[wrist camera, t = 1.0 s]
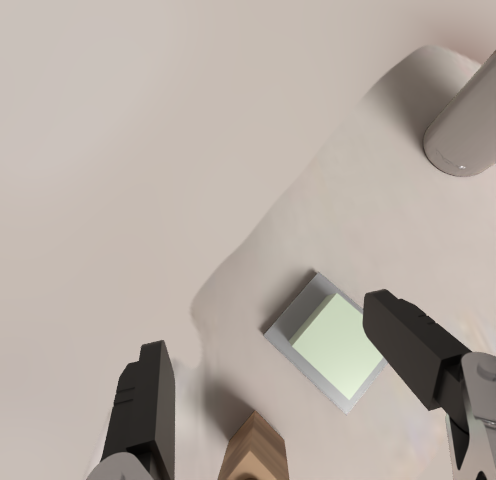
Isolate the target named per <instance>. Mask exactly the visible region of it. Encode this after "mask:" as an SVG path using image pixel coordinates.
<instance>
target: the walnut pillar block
mask: <svg viewBox="0 0 496 480" xmlns="http://www.w3.org/2000/svg"><path fill="white" fill-rule="evenodd" d="M218 480H289V473H288V465H287V457H286V449H285V441H284V440H283V439H282V437H281V436H280V435H279V434H278V433H277V432H276V431H275V430H274V429H273V428H272V427H271V426H270V425H269V424H268V423H267V422H266V421H265V420H264V419H263V418H262V417H261V416H260V415H259V414H258V413H257V412H256V411H254V412H253V413H252V415H251V416H250V417H249V418H248V419H247V421H246V422H245V423H244V424H243V425H242V426H241V428H240V429H239V430H238V431H237V432H236V434H235V435H234V436H233V437H232V438H231V440H230V441H229V443H228V446H227V450H226V453H225V456H224V460H223V463H222V466H221V470H220V473H219V476H218Z"/></svg>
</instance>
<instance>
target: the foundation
mask: <svg viewBox="0 0 496 480" xmlns="http://www.w3.org/2000/svg"><path fill="white" fill-rule="evenodd" d="M362 321H363V309H362V308H361V307H359V306H358V305H357V304H356V303H355V302H354V301H352V300H351V299H350V298H349V297H348V296H347V295H345V294H344V293H343V292H342V291H341V290H339V289H338V288H337V287H336V286H335V285H334V284H332V283H331V282H330V281H329V280H328V279H327V278H325V277H324V276H323V275H322V274H321V273H320V272H318V273H317V274H316V275H315V276H314V277H313V278H312V280H311V281H310V282H309V283H308V284H307V285H306V286H305V288H304V289H303V290H302V291H301V292H300V293H299V295H298V296H297V297H296V298H295V299H294V300H293V301H292V303H291V304H290V305H289V306H288V307H287V308H286V309H285V311H284V312H283V313H282V314H281V315H280V316H279V318H278V319H277V320H276V321H275V322H274V323H273V324H272V326H271V327H270V328H269V329H268V330H267V331H266V333H265V334H264V335H263V336H264V337H265V338H266V339H267V340H268V341H269V342H270V343H272V344H273V345H274V346H275V347H276V348H277V349H278V350H279V351H280V352H281V353H282V354H283V355H284V356H285V357H286V358H287V359H288V360H289V361H290V362H291V363H292V364H293V365H295V366H296V367H297V368H298V369H299V370H300V371H301V372H302V373H303V374H304V375H305V376H306V377H307V378H308V379H309V380H310V381H311V382H312V383H313V384H314V385H315V386H316V387H317V388H319V389H320V390H321V391H322V392H323V393H324V394H325V395H326V396H327V397H328V398H329V399H330V400H331V401H332V402H333V403H334V404H335V405H336V406H337V407H338V408H339V409H340V410H341V411H343V412H344V413H345V414H346V415H347V414H348V413H349V412H350V411H351V409H352V408H353V407H354V405H355V404H356V403H357V402H358V400H359V399H360V398H361V397H362V395H363V394H364V393H365V391H366V390H367V389H368V388H369V386H370V385H371V384H372V382H373V381H374V380H375V379H376V377H377V376H378V375H379V374H380V372H381V371H382V370H383V368H384V367H385V366H386V365H387V363H388V362H387V361H386V359H385V358H384V357H383V356H382V355H381V353H380V352H379V351H378V350H377V349H376V347H375V346H374V345H373V344H372V343H371V341H370V340H369V339H368V338H367V336H366V334H365V332H364V329H363V324H362Z"/></svg>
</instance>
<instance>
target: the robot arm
mask: <svg viewBox="0 0 496 480" xmlns="http://www.w3.org/2000/svg"><path fill="white" fill-rule="evenodd" d="M423 146H424V150H425V153H426V155H427V157H428V159H429V160H430V161H431V162H432V163H433V164H434V165H435V166H436V167H437V168H438V169H440V170H442V171H444V172H445V173H448V174H451V175H455V176H472V175H476V174H479V173H481V172H483V171H484V170H486V169H487V168H489V167H491V166H492V165H494V164H495V163H496V50H495V51H494V53H493V54H492V55H491V56H490V57H489V58H488V59H487V61H486V62H485V63H484V64H483V65H482V66H481V67H480V69H479V70H478V71H477V72H476V73H475V74H474V75H473V77H472V78H471V79H470V80H469V81H468V82H467V84H466V85H465V86H464V87H463V88H462V89H461V90H460V92H459V93H458V94H457V95H456V96H455V97H454V98H453V100H452V101H451V102H450V103H449V104H448V105H447V106H446V107H445V109H444V110H443V111H442V112H441V113H440V114H439V116H438V117H437V118H436V119H435V120H434V121H433V122H432V124H431V125H430V126H429V127H428V128H427V130H426V132H425V135H424V139H423ZM362 324H363V329H364V332H365V334H366V336H367V338H368V339H369V340H370V341H371V343H372V344H373V345H374V346H375V347H376V349H377V350H378V351H379V352H380V353H381V355H382V356H383V357H384V358H385V359H386V361H387V362H388V363H389V364H390V365H391V366H392V368H393V369H394V370H395V371H396V372H397V374H398V375H399V376H400V377H401V378H402V380H403V381H404V382H405V383H406V384H407V386H408V387H409V388H410V389H411V390H412V392H413V393H414V394H415V395H416V396H417V398H418V399H419V400H420V401H421V402H422V404H423V405H424V406H425V407H426V408H427V409H428V411H430V410H433V409H437V408H440V407H442V408H443V409H444V410H445V412H446V417H445V421H446V428H447V435H448V443H449V450H450V457H451V464H452V471H453V480H496V357H495V356H493V355H490V354H486V353H481V352H472V351H471V350H469V349H468V348H467V347H466V346H465V345H463V344H462V343H461V342H460V341H458V340H457V339H456V338H455V337H454V336H452V335H451V334H450V333H449V332H447V331H446V330H445V329H444V328H443V327H441V326H440V325H439V324H438V323H435V321H434V320H433V319H432V318H430V317H429V316H426V314H425V313H424V312H423V311H422V310H420V309H419V308H418V307H417V306H416V305H414V304H412V303H410V302H407V301H405V300H403V299H397V298H396V297H395V296H394V295H393V294H391V293H390V292H389V291H388V290H386V289H382V290H378V291H374V292H369V293H366V294H365V297H364V308H363V321H362ZM174 469H175V378H174V372H173V368H172V365H171V362H170V358H169V355H168V352H167V348H166V345H165V342H164V340H161V341H157V342H152V343H148V344H144V345H142V346H141V351H140V358H139V361H137V362H134V363H129V364H128V365H127V366H126V368H125V369H124V371H123V373H122V374H121V376H120V377H119V381H118V386H117V390H116V395H115V400H114V407H113V409H112V413H111V418H110V422H109V427H108V431H107V436H106V441H105V445H104V450H103V454H102V458H101V461H100V463H99V464H98V465H97V466H96V467H95V468H94V469H93V471H92V472H91V473H90V475H89V476H88V478H87V479H86V480H174Z"/></svg>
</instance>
